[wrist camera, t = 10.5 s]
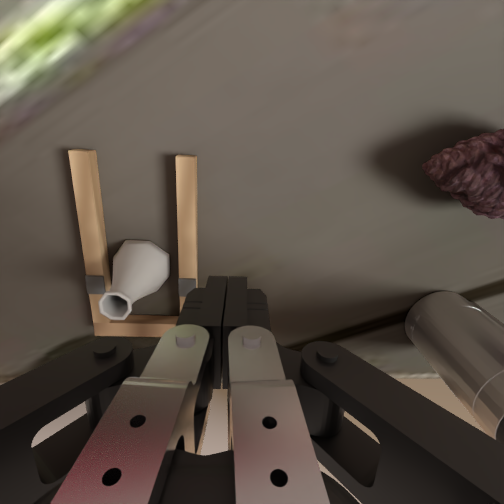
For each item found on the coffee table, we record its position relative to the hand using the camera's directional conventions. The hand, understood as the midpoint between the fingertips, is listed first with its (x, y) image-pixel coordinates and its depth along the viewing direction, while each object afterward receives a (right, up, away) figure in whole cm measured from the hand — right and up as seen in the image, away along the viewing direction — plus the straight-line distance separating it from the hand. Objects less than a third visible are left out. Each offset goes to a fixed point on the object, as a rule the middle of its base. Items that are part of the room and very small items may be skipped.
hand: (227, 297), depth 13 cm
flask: (-13, 0, +28) cm, 31 cm away
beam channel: (-12, +3, +27) cm, 29 cm away
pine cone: (+27, +12, +25) cm, 39 cm away
